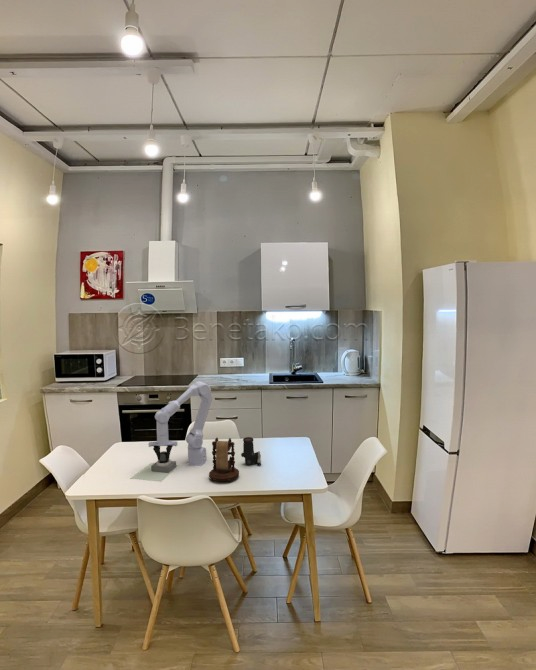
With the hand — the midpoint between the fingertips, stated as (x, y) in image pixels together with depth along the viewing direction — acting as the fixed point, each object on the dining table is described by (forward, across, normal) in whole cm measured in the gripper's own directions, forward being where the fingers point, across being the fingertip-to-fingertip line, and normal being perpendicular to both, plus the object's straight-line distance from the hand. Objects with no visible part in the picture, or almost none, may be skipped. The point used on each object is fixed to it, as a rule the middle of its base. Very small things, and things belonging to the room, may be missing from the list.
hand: (163, 459), depth 215 cm
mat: (+6, +4, +3) cm, 7 cm away
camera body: (+5, 0, 0) cm, 5 cm away
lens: (+2, 0, 0) cm, 2 cm away
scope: (+6, -45, -6) cm, 46 cm away
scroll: (+6, -32, +11) cm, 35 cm away
